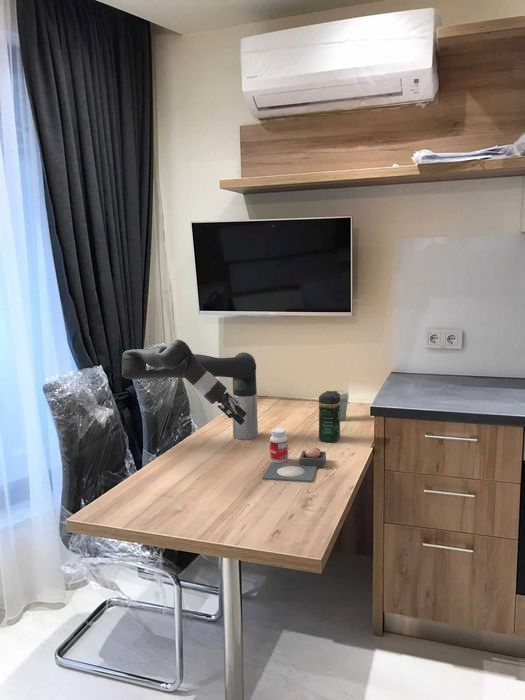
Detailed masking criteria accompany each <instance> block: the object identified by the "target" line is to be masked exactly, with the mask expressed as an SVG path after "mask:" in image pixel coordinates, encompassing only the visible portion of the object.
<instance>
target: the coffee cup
mask: <svg viewBox="0 0 525 700" xmlns="http://www.w3.org/2000/svg"><path fill="white" fill-rule="evenodd" d="M334 391H336V392H337V393H339V394H340V422H343V421H346V420H345V419H347V418H346V417H347V411H348V410H347V409H348V399H349V394H348V391H347V390H339V389H338V390H334Z"/></svg>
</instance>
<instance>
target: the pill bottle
mask: <svg viewBox="0 0 525 700" xmlns="http://www.w3.org/2000/svg"><path fill="white" fill-rule="evenodd" d="M288 456H289V452H288V437H287V435H286V429H284V428H281V427H280V428H278V427H277V428H272V429H271V436H270V437H269V459H270V463H276V464H285V463H286V462H288V459H289V457H288Z"/></svg>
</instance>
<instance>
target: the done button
mask: <svg viewBox="0 0 525 700" xmlns="http://www.w3.org/2000/svg"><path fill="white" fill-rule="evenodd" d="M304 451H305V456H306V457H308V458H318V457H320V451H321V449H320V448H319V447H315V446H314V447H307V448H305V449H304Z"/></svg>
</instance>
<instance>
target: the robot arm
mask: <svg viewBox="0 0 525 700" xmlns="http://www.w3.org/2000/svg"><path fill="white" fill-rule="evenodd" d="M121 356H122V357H121V376H122V377H123V378H124V379H128V380H141V379H142V380H143V379H158V378H159V379H161V378H170V379H172V378H173V379H177V378H178V379H185V380H187V381H188V382H189V383H190V384H191V385H192V386H193V387H194V388H195V389H196V390H197V391H198V393H199V394H200V395H201V396H202V397H204V398H205V399H206V400H207V401H208V402H209V403H210V404H212V405H213V404H215V403H216V402H217V404H218V405H217V408H218V409H219V410H221V411H222V412H223V414H225V416H227V418H229V419H232V436H233V437H234V438H233V439H238V440H252V439H256V438H258V436H259V428H258V427H259V426H258V421H259V420H258V398H257V397H258V395H257V394H258V392H257V363H256V360H255V358H254V357H253V355H252V354H251V353H249V352H239V353H238V354H236V355H235V356H234V357H232V356H231V357H216V356H215V357H214V356H211V355H206V354H205V355H204V354H199V353H198V354H197V353H194V352H193V351H192V350H191V348H190V346H189V345H188V343H186V342H185V341H183V340H182V339H175V340H173V341H172V342H171V343H170V344H169V345H168V346H167V347H166V346H160V347H155V348H137V349H134V348H133V349H127V350H125V351H123V353H122V355H121ZM147 365H148V366H149V367H151V368H152V369H147ZM217 377H218V378H219V377H220V378H232V395H231V394H230V393H229V392H228V391H227V389H228V388H227V386H225V385H224V384H223V383H222V382H221V381H219V379H218V378H217Z"/></svg>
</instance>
